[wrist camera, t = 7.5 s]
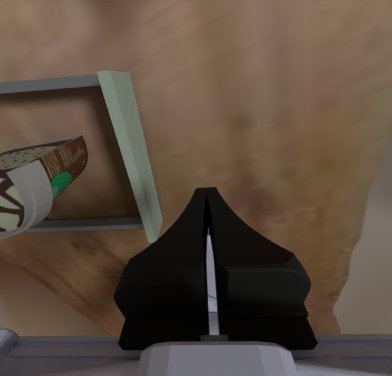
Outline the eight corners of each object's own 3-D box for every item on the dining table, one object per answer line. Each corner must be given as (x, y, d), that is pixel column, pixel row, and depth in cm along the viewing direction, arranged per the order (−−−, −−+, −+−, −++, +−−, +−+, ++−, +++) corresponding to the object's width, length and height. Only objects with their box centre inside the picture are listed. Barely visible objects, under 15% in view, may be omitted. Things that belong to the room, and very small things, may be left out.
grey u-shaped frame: (163, 216, 26) (156, 242, 22) (41, 221, 27) (12, 246, 23) (132, 73, 17) (109, 70, 12) (-54, 89, 18) (-132, 91, 13)
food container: (33, 191, 24) (-57, 251, 16) (0, 150, 21) (-134, 195, 13) (115, 179, 23) (65, 237, 14) (93, 133, 20) (13, 171, 11)
